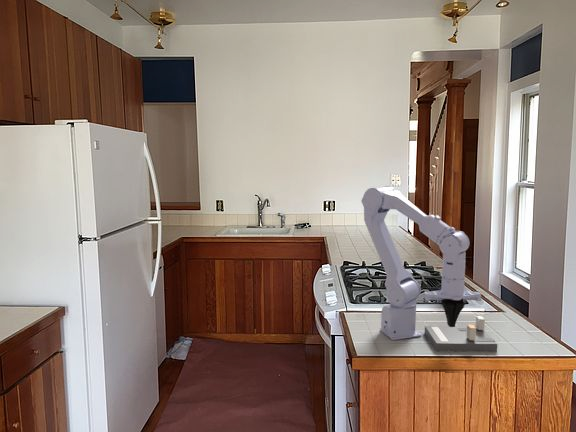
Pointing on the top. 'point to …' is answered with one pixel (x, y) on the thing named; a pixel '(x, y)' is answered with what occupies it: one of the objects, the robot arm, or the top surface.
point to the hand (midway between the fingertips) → (451, 325)
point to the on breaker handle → (480, 322)
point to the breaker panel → (459, 339)
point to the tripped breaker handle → (471, 332)
